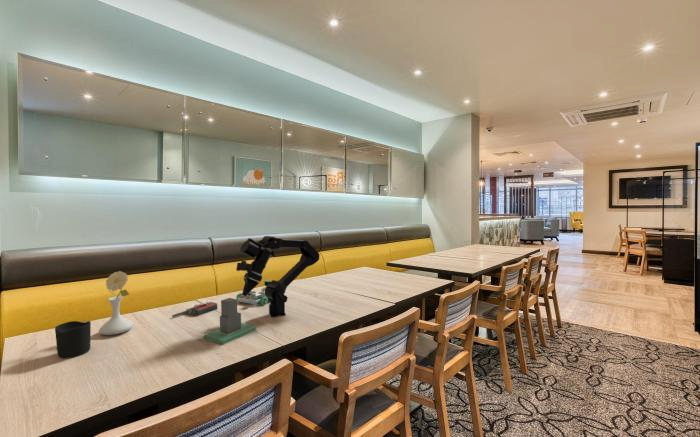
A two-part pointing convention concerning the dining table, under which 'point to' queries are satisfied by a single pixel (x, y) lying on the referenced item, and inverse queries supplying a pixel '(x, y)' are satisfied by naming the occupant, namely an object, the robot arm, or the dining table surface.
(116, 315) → the flower in vase
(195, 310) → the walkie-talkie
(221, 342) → the board
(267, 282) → the robot kit
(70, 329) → the pen holder
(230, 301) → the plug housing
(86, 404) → the dining table surface
